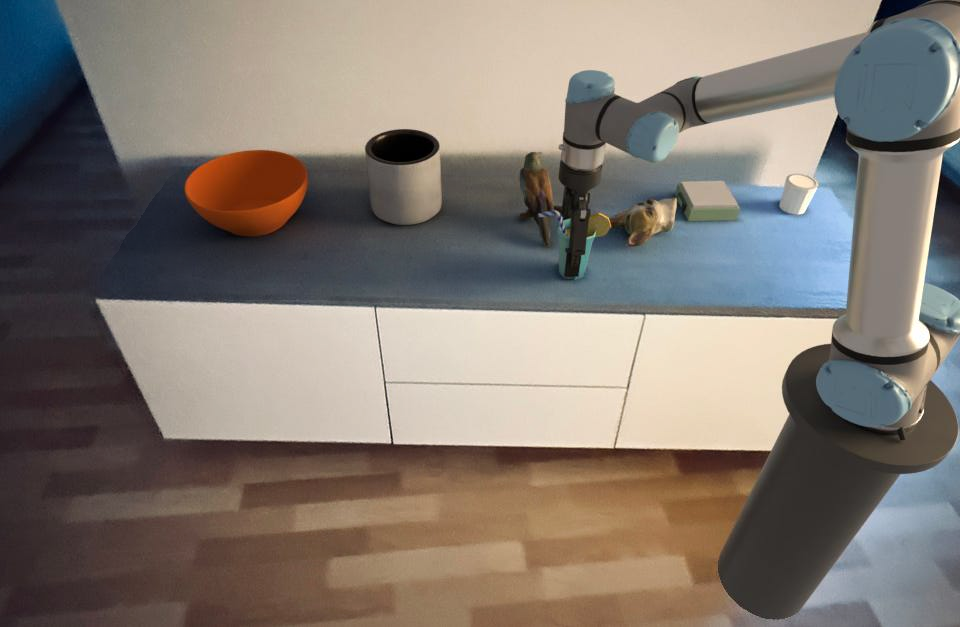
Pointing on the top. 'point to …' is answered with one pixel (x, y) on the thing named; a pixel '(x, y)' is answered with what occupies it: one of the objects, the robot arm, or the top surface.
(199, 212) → the bowl
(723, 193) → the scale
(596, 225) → the cup
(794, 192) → the shot glass
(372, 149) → the planter
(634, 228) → the ceramic sculpture
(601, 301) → the top surface
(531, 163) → the bird figurine
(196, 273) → the top surface
